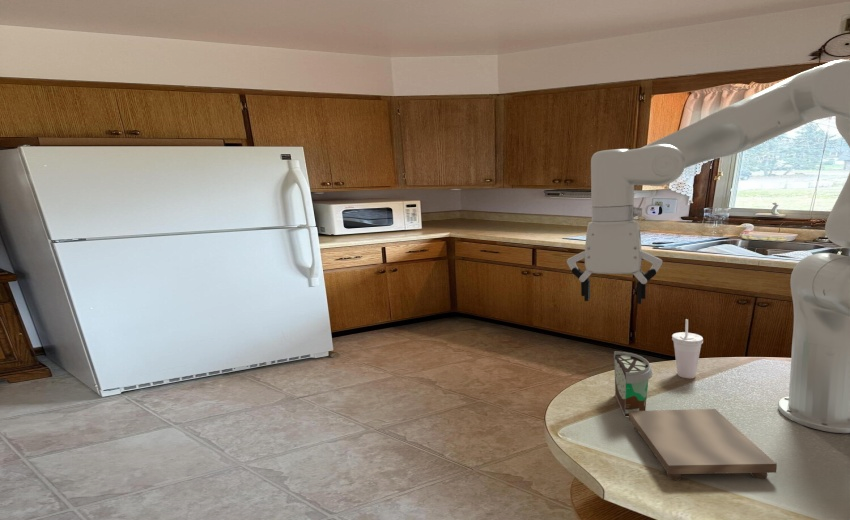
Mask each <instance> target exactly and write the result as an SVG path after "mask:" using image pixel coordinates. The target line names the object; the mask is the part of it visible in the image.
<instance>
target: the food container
mask: <svg viewBox="0 0 850 520" xmlns="http://www.w3.org/2000/svg"><path fill="white" fill-rule="evenodd" d="M613 360H614V362H613V363H614V394H615V398H616V400H617V402H618V404H619V407H620V410H621V411H622V413H624V414H623V416H624V415H625V416H629V411H647V410H646V408H647V399H648V398H647V397H648V388H649V387H648V386H649V380H650V379H651V378H652V377H653V370H652V366H651V364H650V362H649V361H648V360H647V359H646V358H644V357H643V356H641V355H638V354H636V353H633V352H626V351H614V352H613ZM625 416H624V417H625Z"/></svg>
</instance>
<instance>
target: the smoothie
mask: <svg viewBox="0 0 850 520" xmlns="http://www.w3.org/2000/svg"><path fill="white" fill-rule="evenodd" d="M684 326H685V327H684V330H685V331H682V332H681V331H680V332H675V333H673V334H672V335H671V337H672V338H671V340H672V341H673V348H674V356H675V364H676V365H675V366H676V372H677V375H678V376H679V377H681V378H683V379H694V378H696V376H697V375H696V374H697V369H698V364H699V359H700V353H701V348H702V344H703V343H704V338H703V336H702V335H700V334H698V333H692V332H689V318H688V319H687V318H686V319H685V325H684Z"/></svg>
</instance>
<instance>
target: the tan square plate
mask: <svg viewBox="0 0 850 520" xmlns="http://www.w3.org/2000/svg"><path fill="white" fill-rule="evenodd" d="M628 420H630V422H631V423H632V425H633V429H634V431H635V432H638V433H639V435H640V436H641V438H642V439H643V440H644V442H645V443H646V445H647V446H648V447H649V449H650V450H651V451H652V453H653V454H654V456H655V457H656V458H657V460H658V461H659V463H660V465H661V466H662V467H663V468H664V470H665V471H666V476H667V478H668V479H670V480H671V481H680V480H681V479H682V475H687V474H688V475H691V474H693V475H695V474H696V475H697V474H702V475H704V474H705V475H707V474H751V476H752V477H754V478H756V479H759V480H766V479H768V473H771V474H775V473H777V467H778V465H777V462H775V461H774V460H773V459H772V458H771V457H770V456H768V455H767V454H766V453H765V452H764V451H763V450H762V449H761V448H760V447H759V446H757V444H755V443H754V442H753V441H752V440H751V439H750V438H748V436H747V435H745V434H744V433H743V432H742V431H740V430H739V429H738V428H737V427H736V426H735V425H734V424H733V423H732V422H731V421H730V420H728V419H727V418H726V417H725V416H724V415H723V414H722V413H720V412H719V411H718V409H717V408H701V409H700V408H699V409H696V408H695V409H694V408H693V409H660V410H659V409H657V410H645V411H629V417H628Z"/></svg>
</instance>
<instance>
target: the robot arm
mask: <svg viewBox="0 0 850 520" xmlns="http://www.w3.org/2000/svg"><path fill="white" fill-rule="evenodd" d="M830 117H831V118H832V117H835V125H836V129H837V131H838V134H839V135H840V136H841V137H842V138H843V140H845V143H846V144H847V145H848V147H849V148H850V59H837V60H833V61H829V62H826V63H824V64H822V65H821V64H820V65H819V66H815V67H813V68H810V69H807V70H804V71H802V72H800V73H797V74H794V75H792V76H790V77H788V78H786V79H784V80H781V81H780V82H777V83H775V84H773V85H771V86H769V87H766V88H765V89H762V90H760V91H758V92H756V93H754V94H751V95H750V96H747V97H745V98H744V99H741V100H738V101H737V102H735V103H732V104H730V105H727V106H725V107H724V108H721V109H719V110H717V111H715V112H713V113H711V114H709V115H707V116H705V117H703V118H701V119H700V120H697V121H695V122H694V123H692V124H689V125H688V126H685V127H683V128H681V129H678V130H676V131H674V132H672V133H670V134H667V135H665V136H663V137H660V138H658V139H657V140H655V141H653V142H651V143H649V144H646V145H644V146H642V147H640V148H639V147H637V148H631V149H629V148H616V149H605V150H604V149H603V150H600V151H596V152H594V153H593V154H592V156H591V159H590V174H591V175H590V179H591V181H590V184H591V186H590V189H591V191H590V192H591V193H590V194H591V195H590V196H591V198H590V199H591V221H590V222H588V224H587V229H586V235H585V236H586V237H585V246H584V248H585V250H583V251H581V252H579V253H576V254H575V255H573V256H571V257H569V258H567V259H566V263H567V266H568V267H569V269H570V270H571V273H572V274H573V275H574V276H575V277H576V278H577V279H578V280H579V282H580V287H581V288H580V291H581V292H580V295H581V297H584V299H583V300H584V302H588V301H590V299H591V279H590V278H589V277H590V276H591V275H592V274H611V275H612V274H613V275H614V274H615V275H616V274H617V275H633V276H634V277H635V278H636V279H637V280H638V281H637V286H636V287H637V288H636V290H637V291H636V303H637V304H638V305H642V301H643V300H646V293H647V291H646V290H647V289H646V288H647V287H646V286H647V283H648V282H649V281H650V280H651V279H652V278H654V277H655V276H656V275H657V273H658V271H659V270H660V268H661V267H662V265H663V259H661V258H660V257H658V256H656V255H653V254H651V253H648V252H646V251H644V250H642V238H641V228H640V224H639V221H638V220H635V218H636V217H638V216H643V207H640V208H639V207H636V206H635V204H634V203H635V201H634V200H635V186H650V187H661V186H662V187H664V186H667V185H669V184H672V183H673V182H675V181H677V179H679V177H681V175H682V174H683V173H684V170H685V169H687V168H689V167H691V166H695V165H697V164H700V163H703V162H706V161H710V160H715V159H720V158H724V157H729V156H733V155H736V154H738V153H742V152H745V151H748V150H750V149H752V148H754V147H756V146H759V145H761V144H764V143H766V142H767V141H770V140H772V139H774V138H776V137H778V136H781V135H783V134H786V133H788V132H790V131H793V130H796V129H797V128H800V127H802V126H804V125H806V124H808V123H809V124H810V123H811V122H814V121H816V120H821V119H827V118H830ZM824 233H825V235H826V238H827V239H828V240H829V241H830V242H832V243H833V244H835V245H837V246H840V247H842V248H844V249H848V250H850V172H849V173H848V175H847V178H846V180H845V183H844V185H843V187H842V189H841V191H840V193H839V195H838V197H837V199H836V201H835V203H834V204H833V207H832V209H831V211H830V213H829V215H828V217H827V220H826V223H825V226H824ZM581 260H584V269H585V270H583V271H584V272H583V271H582V270H581V269H580V268H579V267H578V265H577V263H578V262H579V261H581ZM642 260H644V261H646V262H648V263H650V264H651V267H650V268H649V270H647V271H646V272H644V271H643V270H642V269H641V267H642V262H643V261H642ZM790 274H791V275H790V281H789V283H790V293H791V298H792V304H793V327H792V329H793V331H792V342H791V343H792V344H791V357H790V358H791V359H790V361H791V362H790V370H789V371H790V374H789V387H788V395H787V396H785V397H782V398H780V399H779V401H778V403H777V404H778V405H777V409H778V411H779V412H780V413H781V414H782V415H783V416H784V417H786V418H788V419H789V420H791V421H793V422H795V423H797V424H800V425H802V426H804V427H807V428H811V429H815V430H818V431H822V432H823V431H824V432H828V433H833V434H850V256H847V255H843V254H839V253H832V252H821V253H820V252H819V253H814V254H811V255H808V256H806V257H804V258H802V259H801V260H800V261H798V262H797V263H796V265H795V266H794V268H793V270H792V271H791V273H790ZM642 299H643V300H642Z"/></svg>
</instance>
